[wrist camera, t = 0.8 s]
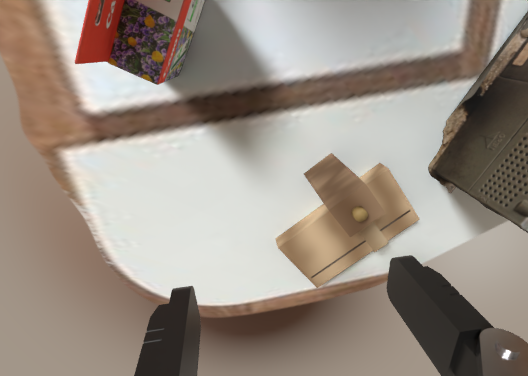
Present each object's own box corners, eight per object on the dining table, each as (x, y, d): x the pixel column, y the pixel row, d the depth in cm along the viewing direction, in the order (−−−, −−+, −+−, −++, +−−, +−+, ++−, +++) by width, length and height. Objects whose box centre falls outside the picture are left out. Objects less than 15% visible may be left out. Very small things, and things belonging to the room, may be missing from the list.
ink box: (209, -8, 26) (196, -71, 13) (179, 78, 29) (143, 98, 16) (168, -31, 25) (109, -125, 12) (141, 60, 28) (68, 66, 15)
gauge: (331, 153, 34) (369, 187, 25) (378, 219, 39) (424, 267, 30) (303, 173, 35) (331, 214, 26) (353, 236, 40) (390, 289, 31)
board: (379, 162, 35) (388, 168, 34) (410, 211, 39) (419, 219, 37) (275, 238, 38) (278, 248, 36) (313, 278, 42) (317, 288, 40)
